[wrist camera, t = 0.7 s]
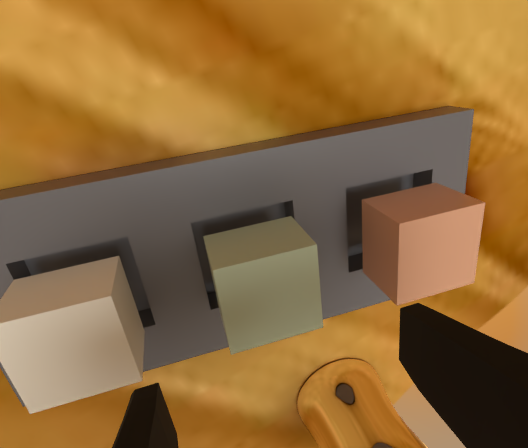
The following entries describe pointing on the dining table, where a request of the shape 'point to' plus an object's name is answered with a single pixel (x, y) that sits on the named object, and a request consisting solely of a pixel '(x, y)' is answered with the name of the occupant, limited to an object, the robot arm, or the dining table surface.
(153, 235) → the button panel
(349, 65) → the dining table surface
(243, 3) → the dining table surface
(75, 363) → the cream button
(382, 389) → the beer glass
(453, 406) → the robot arm
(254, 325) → the sage button
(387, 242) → the terracotta button
